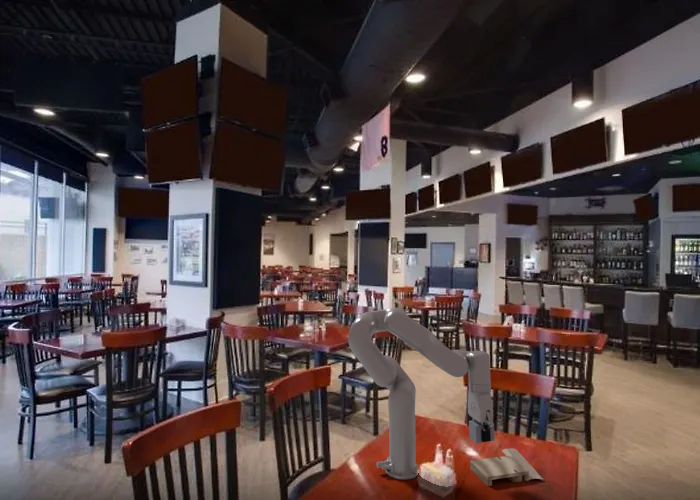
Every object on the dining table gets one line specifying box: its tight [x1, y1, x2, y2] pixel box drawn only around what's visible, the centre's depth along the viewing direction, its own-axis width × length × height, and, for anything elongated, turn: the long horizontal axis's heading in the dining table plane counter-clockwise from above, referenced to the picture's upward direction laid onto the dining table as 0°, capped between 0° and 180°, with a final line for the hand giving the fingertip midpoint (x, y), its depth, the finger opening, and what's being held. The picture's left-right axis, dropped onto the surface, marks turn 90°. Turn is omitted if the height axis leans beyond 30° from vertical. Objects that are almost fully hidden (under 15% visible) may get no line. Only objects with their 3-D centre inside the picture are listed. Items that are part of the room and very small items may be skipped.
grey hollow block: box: [468, 419, 496, 444], centre depth 158 cm, size 7×5×6 cm
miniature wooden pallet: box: [469, 455, 529, 487], centre depth 160 cm, size 16×12×3 cm
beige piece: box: [501, 448, 545, 482], centre depth 167 cm, size 24×7×2 cm, turn 2°
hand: (482, 437), depth 158 cm, fingers closed on grey hollow block, 5 cm apart
